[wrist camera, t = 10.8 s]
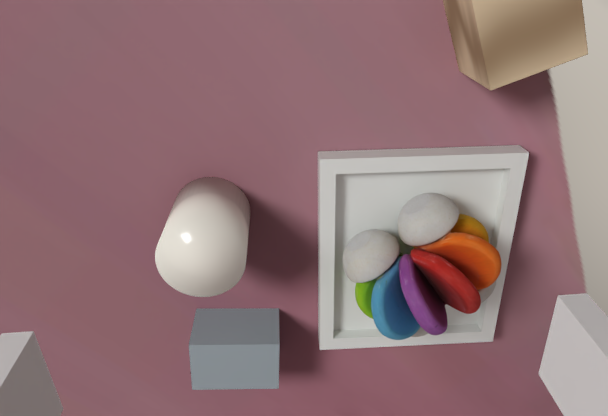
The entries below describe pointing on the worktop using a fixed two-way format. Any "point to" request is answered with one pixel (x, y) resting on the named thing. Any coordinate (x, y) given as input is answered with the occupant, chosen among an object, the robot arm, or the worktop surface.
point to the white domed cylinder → (205, 238)
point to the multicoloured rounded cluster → (422, 268)
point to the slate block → (235, 349)
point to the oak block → (514, 37)
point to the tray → (384, 216)
